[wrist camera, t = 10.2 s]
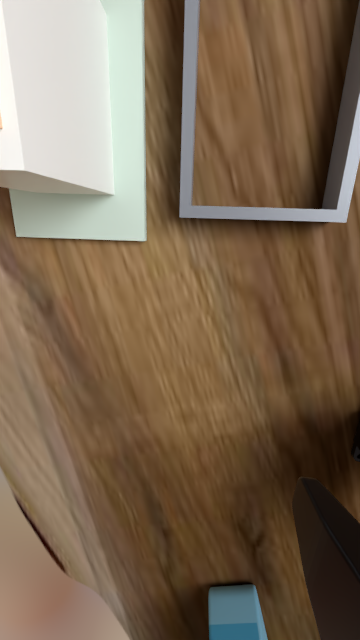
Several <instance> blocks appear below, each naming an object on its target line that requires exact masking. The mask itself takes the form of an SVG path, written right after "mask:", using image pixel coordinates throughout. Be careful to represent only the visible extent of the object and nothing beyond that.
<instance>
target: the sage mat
mask: <svg viewBox="0 0 360 640" xmlns="http://www.w3.org/2000/svg"><path fill="white" fill-rule="evenodd" d="M100 2H101V4H102V6H103V8H104V11H105V13H106V15H107V38H108V60H109V83H110V105H111V128H112V150H113V173H114V195H97V194H59V193H36V192H29V191H23V190H17V189H10V188H9V193H10V199H11V206H12V212H13V218H14V225H15V231H16V237H39V238H68V239H97V240H127V241H146V240H147V239H146V146H145V52H144V0H100Z"/></svg>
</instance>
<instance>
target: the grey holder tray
mask: <svg viewBox="0 0 360 640" xmlns="http://www.w3.org/2000/svg"><path fill="white" fill-rule="evenodd" d="M199 16H200V0H185V18H184V57H183V96H182V135H181V174H180V213H179V217H181V218H214V219H247V220H281V221H315V222H346V221H347V216H348V211H349V206H350V202H351V197H352V192H353V187H354V183H355V178H356V173H357V168H358V163H359V159H360V0H359V4H358V10H357V15H356V21H355V27H354V32H353V38H352V43H351V49H350V54H349V60H348V65H347V71H346V77H345V82H344V88H343V93H342V99H341V104H340V110H339V115H338V121H337V126H336V132H335V138H334V143H333V149H332V154H331V160H330V165H329V171H328V176H327V182H326V188H325V193H324V199H323V204H322V209H292V208H256V207H219V206H192V195H193V170H194V144H195V119H196V93H197V68H198V42H199Z"/></svg>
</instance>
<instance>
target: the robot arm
mask: <svg viewBox="0 0 360 640" xmlns="http://www.w3.org/2000/svg"><path fill="white" fill-rule="evenodd" d="M351 455H352V456H353V458H354V459H355V460H356V461H359V462H360V420H359V423H358V427H357V430H356V434H355V437H354V444H353V447H352V451H351ZM292 507H293V514H294V520H295V526H296V531H297V537H298V543H299V548H300V554H301V560H302V565H303V571H304V576H305V581H306V585H307V589H308V593H309V597H310V601H311V605H312V608H313V612H314V616H315V619H316V623H317V627H318V630H319V634H320V638H321V640H360V523H359V522H358V521H357V520H356V519H355V518H354V517H353V516H352V515H351V514H350V513H349V512H348V511H347V510H346V509H345V508H344V507H343V506H342V505H341V504H340V502H339V501H338V500H337V499H336V498H335V497H334V496H333V495H332V494H331V493H330V492H329V491H328V490H327V489H326V488H325V487H324V486H323V485H322V484H321V483H320V482H319V481H318V480H317V479H315V478H310V477H299V478H298V480H297V484H296V488H295V492H294V496H293V501H292Z"/></svg>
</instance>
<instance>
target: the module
mask: <svg viewBox="0 0 360 640" xmlns="http://www.w3.org/2000/svg"><path fill="white" fill-rule="evenodd" d="M0 187H4V188H10V189H17V190H23V191H29V192H36V193H59V194H97V195H114V173H113V150H112V128H111V105H110V83H109V60H108V38H107V15H106V13H105V11H104V8H103V6H102V4H101V2H100V0H0Z"/></svg>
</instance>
